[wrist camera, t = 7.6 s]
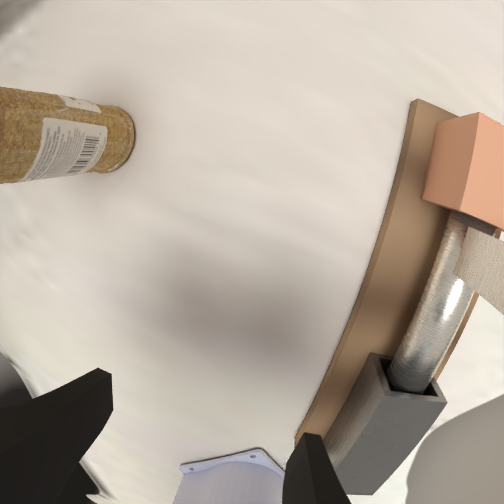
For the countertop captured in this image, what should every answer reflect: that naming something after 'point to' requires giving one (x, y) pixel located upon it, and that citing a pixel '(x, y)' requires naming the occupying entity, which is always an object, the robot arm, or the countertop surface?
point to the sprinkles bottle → (59, 136)
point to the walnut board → (391, 273)
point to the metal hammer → (448, 299)
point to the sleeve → (378, 427)
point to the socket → (468, 168)
